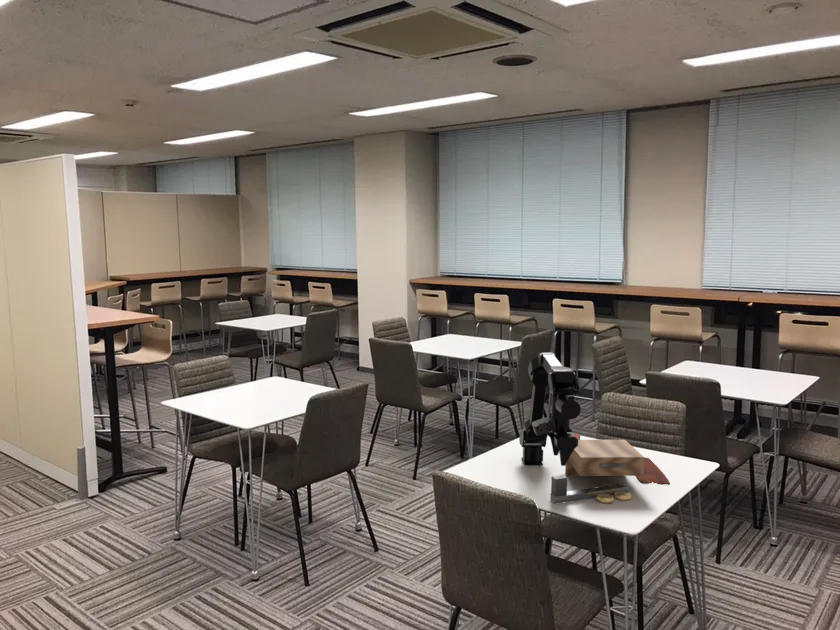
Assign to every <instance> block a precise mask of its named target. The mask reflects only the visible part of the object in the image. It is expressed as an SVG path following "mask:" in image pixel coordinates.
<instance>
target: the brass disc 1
mask: <svg viewBox="0 0 840 630" xmlns="http://www.w3.org/2000/svg"><path fill="white" fill-rule="evenodd" d="M614 500H615V498H614V496H611V495H608V494H598V495H597V498H596V502H598V503H599V504H602V505H603V504H604V505H611V504H613V503H614Z"/></svg>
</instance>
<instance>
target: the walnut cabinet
mask: <svg viewBox="0 0 840 630" xmlns="http://www.w3.org/2000/svg"><path fill="white" fill-rule="evenodd" d="M644 457H645V456H644V455H642V454H641V452H639V450H636V448H635V447H634V446H633V445H631V443H630V442H629V441H627V440H626V439H580V440H578V446H577V447H576V448H575V449H574V451H573V452H572V454H571V456H570V457H569V459H568V461H567V463H566V465H565V466H564V467H565V469H564V470H565V472H564V474H565V477H606V476H607V477H623V476H624V477H628V476H629V477H632V476H633V477H636V476H643V475H644Z"/></svg>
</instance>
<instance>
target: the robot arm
mask: <svg viewBox="0 0 840 630" xmlns="http://www.w3.org/2000/svg"><path fill="white" fill-rule="evenodd" d="M527 372H528V376H529V378H530V380H531V382H532V383H531V384H532V389H531V390H532V392H531V399H530V408H529V409H530V410H529V415H528V416H529V418H528V419H527V420H526V421H525V422H524V424H523V428H522V430H521V432H520V434H519V444H520V446H521V447H522V457H521V460H522V462H523V464H524V465H525V466H526V465H528V466H532V465H534V466H535V465H538V466H540V465H544V464H543V461H544V450H543V448H546V446H547V439H548V437H549V438H550V442H551V449H552V453H553V456H558V455H559V459H560V465H561V467H565V465H566V463H567V461H568V459H569V457H570V456H571V454H572V452H573V451H574V449H575V448H576V447H577V446H578V439H577V438H576V437H575V436H574V435H573V434H567V433H573V431H572V430H573V428H571V420H575V419H577V418H578V417H579V416H580V414H581V411H582V408H581V405H580V404H579V402H578V401H576V399H575V395H576V396H577V395H579V394H580V393H579V391H580V385H579V381H578V378H577V374H576V373H575V372H574V369H572V368H570V367H567V366H563V365H562V364H561V362H560V361H559V360H558V358H557V356H556V353H553V352H540V353H539V354H538V355H537V356H536V357H534V358H532V359H531V360H530V361H529V364H528V368H527ZM548 386H549V391H550V393H551V406H550V407H551V411H549V412H548V416H547V417H544V411H545V410H544V409H545V400H546V392H547V387H548Z"/></svg>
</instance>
